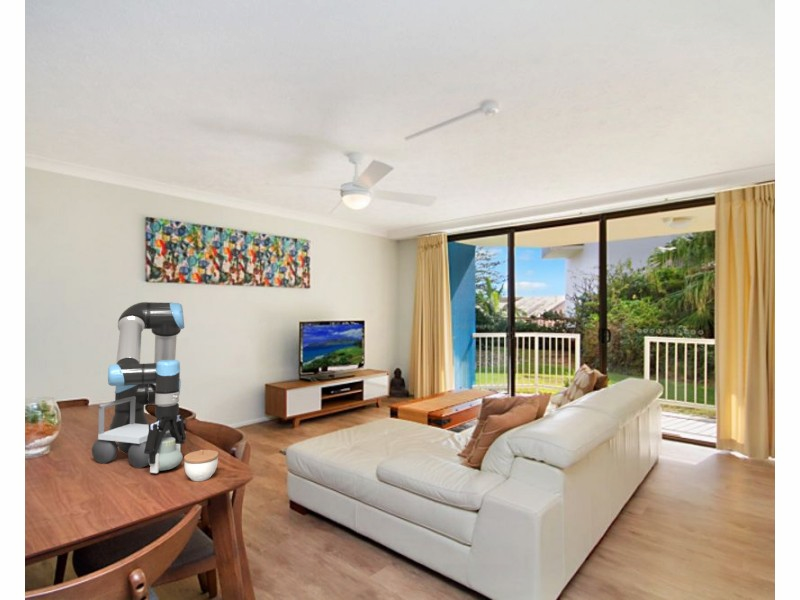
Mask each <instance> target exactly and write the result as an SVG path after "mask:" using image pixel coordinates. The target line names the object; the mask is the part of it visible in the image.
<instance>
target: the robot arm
mask: <svg viewBox="0 0 800 600" xmlns="http://www.w3.org/2000/svg"><path fill="white" fill-rule="evenodd" d="M183 309H184V308H183V305H182V304H181V303H179V302H172V301H170V302H150V301H149V302H148V301H144V302H142V301H141V302H138V303H134V304H132V305H130V306H129V307H127V308H126V309H125V310H124V311H123V312H122V313H121V315H120V316H119V318H118V321H117V329H118V331H119V335H118V345H117V355H116V361H115V362H116V363H115V364H112V365H109V367H108V370H107V371H108V372H107V384H108V386H112V387H115V391H114V401H116V400H120V399H124V398H129V397H133V396H135V397H136V400H135V423H136V424H146V425H149V433H148V437H147V442H146V446H145V451H144V453H145V454H149V463H150V465H149V466H150V467H149V473H152V474H158V473H159V471H158V467H159V453H157V451H158V448H159V446H160V443H161V441H162V438H163V435H164V434H165V433H166V431H168V430H169V431H170V433H171V436H172V437H173V438H175V439H176V440H175V443H176V444H175V449H176V450H179V451H180V452H181V453H182V444H184V443H185V441H186V439H187V437H186V433H185V431H186V430H185V426H184V415H182V414H179V412H180V411H179V410H180V405H179V402H180V393H181V385H182V384H181V383H182V381H181V378H180V376H181V375H180V373H181V364H180V361H179V360H178V359H176V353H177V335H179V334H180V333H181V330H184V329H185V320H184V319H185V317H184V310H183ZM144 330H151V333H152V334H153V335H154V362H151V363H148V362H147V363H141V353H142V352H141V351H142V349H141V348H142V332H143V331H144ZM148 405H155V406H154V416H155V417H156V421H155V422H153V423H149V422H148V421H149V420H147V416H146V413H145V406H148ZM128 424H130V401H129V402H125V403H121V404H117V405H114V415H113V418H112V420H111V423H110V425H109V430H112V429H115V428H119V427H122V426H125V425H128ZM159 430H160V431H159ZM181 436H182V437H181ZM153 450H154V451H153Z"/></svg>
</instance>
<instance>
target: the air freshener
mask: <svg viewBox="0 0 800 600" xmlns="http://www.w3.org/2000/svg"><path fill="white" fill-rule="evenodd" d="M175 440H176V439H175V438H173V437H166V438H162V441H161V443H160V446H159V448H158V451H157V453H159V467H158V472H160V471H168V470H171V469H174V468H176V467H177V466H179V465H180V464H181V463H182V461H184V457H183V453H182V451H181V452H180V451H179V450H176V449H175ZM148 462H149V460H148ZM148 466H150V463H149V465H148Z"/></svg>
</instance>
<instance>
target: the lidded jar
mask: <svg viewBox="0 0 800 600" xmlns="http://www.w3.org/2000/svg"><path fill="white" fill-rule="evenodd" d="M219 454H220V453H219V451H217V450H213V449H200V450H195V451H191V452H189V453H187V454H185V455H184V457H183V461H184V462H183V464H184V465H183V466H184V467H183V468H184V472H185V474H186V476H187V477H188V478H189V479H190V481H193V482H203V481H206V480H209V479H210V478H211V476H213V474H214V473H215V472H216V470H217V467H218V464H219Z"/></svg>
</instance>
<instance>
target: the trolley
mask: <svg viewBox="0 0 800 600" xmlns="http://www.w3.org/2000/svg"><path fill="white" fill-rule="evenodd" d="M135 400H136V397H135V396H133V397H129V398H124V399H120V400H116V401H115V400H113V401H108V402H105V403H100V404H99V405H98V430H97V431H98V432H97V434H98V436H97V439H96V440H95V441H94V443H93V444H92V447H91V454H92V457H93V459H94V460H95V461H96V462H97V463H99V464H103V465H104V464H107V463H109V462H110V463H111V462H112V461H113V460H115V459H116V457H117V455H118V451H119V450H120V451H121V453H124V454H126V455H127V457H128V462H129V464H130V465H132V467H133V468H137V469H142V468H145V467H146V466H150V465H149V462H148V460H149V454H145V453H144V451H145V446H146V442H147V437H148V433H149V424H148V425H146V424H136V423H135ZM129 401H130V424H128V425H125V426H122V427H119V428H115V429H112V430H110V429H109V430H106V431H105V408H110V407H113V406H115V405H117V404H121V403H125V402H129ZM159 431H160V430H159ZM169 432H170V431H169V430H168V431H166V433H165V434H164V435H163V438H166V437H172V436H171V434H170V433H169ZM175 444H176V443H175ZM118 448H119V449H118ZM153 451H154V450H153Z"/></svg>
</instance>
